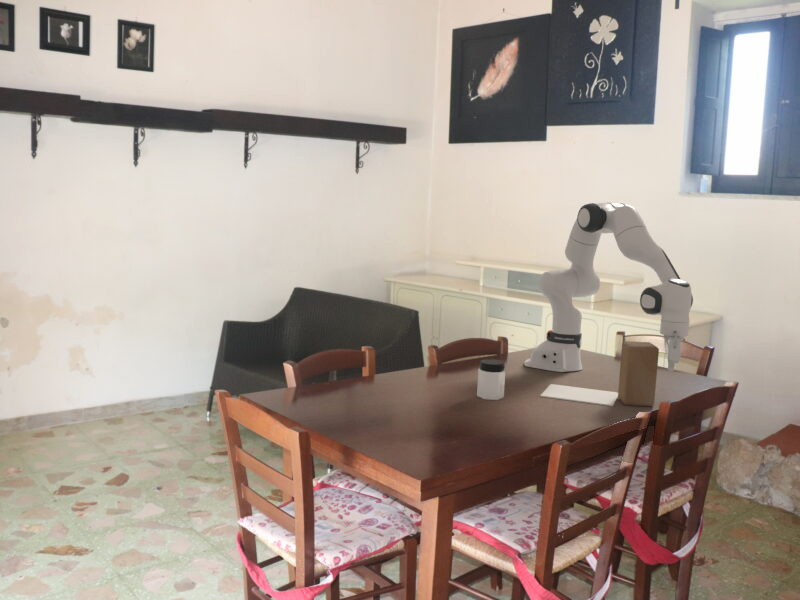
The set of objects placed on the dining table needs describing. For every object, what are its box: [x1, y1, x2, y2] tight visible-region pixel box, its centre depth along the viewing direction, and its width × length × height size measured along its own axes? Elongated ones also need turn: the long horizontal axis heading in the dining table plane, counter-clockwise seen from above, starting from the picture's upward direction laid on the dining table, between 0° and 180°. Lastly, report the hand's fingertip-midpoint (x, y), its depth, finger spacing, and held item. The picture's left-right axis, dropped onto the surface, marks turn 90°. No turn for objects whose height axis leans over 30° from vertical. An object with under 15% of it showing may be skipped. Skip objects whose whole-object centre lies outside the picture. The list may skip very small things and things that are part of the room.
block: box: [617, 340, 660, 407], centre depth 267 cm, size 10×10×20 cm
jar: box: [476, 358, 506, 401], centre depth 267 cm, size 9×8×12 cm
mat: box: [540, 383, 619, 407], centre depth 275 cm, size 24×18×1 cm
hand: (670, 370), depth 263 cm, fingers closed
